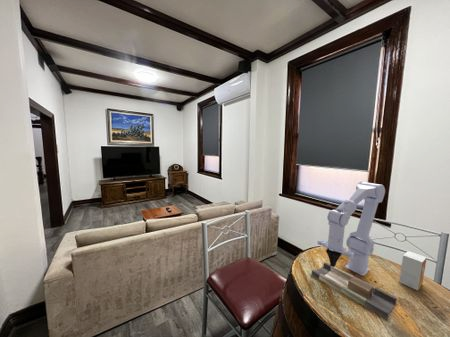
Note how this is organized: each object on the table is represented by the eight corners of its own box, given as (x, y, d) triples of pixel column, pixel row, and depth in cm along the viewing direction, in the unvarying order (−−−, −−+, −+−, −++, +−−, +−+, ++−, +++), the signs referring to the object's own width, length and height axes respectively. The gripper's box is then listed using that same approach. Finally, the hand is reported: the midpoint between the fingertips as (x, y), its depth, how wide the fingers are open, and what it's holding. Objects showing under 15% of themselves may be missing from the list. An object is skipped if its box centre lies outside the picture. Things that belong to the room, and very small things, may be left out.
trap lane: (324, 266, 93) (325, 261, 92) (396, 303, 71) (396, 297, 71) (311, 275, 85) (311, 270, 85) (386, 320, 63) (387, 313, 63)
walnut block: (352, 285, 79) (353, 276, 79) (372, 295, 74) (373, 286, 73) (347, 289, 76) (348, 280, 76) (367, 301, 71) (369, 291, 70)
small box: (418, 291, 79) (422, 262, 77) (398, 282, 84) (402, 255, 83) (422, 284, 83) (427, 257, 82) (403, 276, 88) (407, 250, 87)
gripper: (315, 232, 86) (312, 260, 87) (350, 246, 74) (347, 278, 75) (322, 229, 90) (320, 256, 91) (357, 242, 78) (353, 272, 80)
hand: (332, 265), depth 83 cm, fingers closed
